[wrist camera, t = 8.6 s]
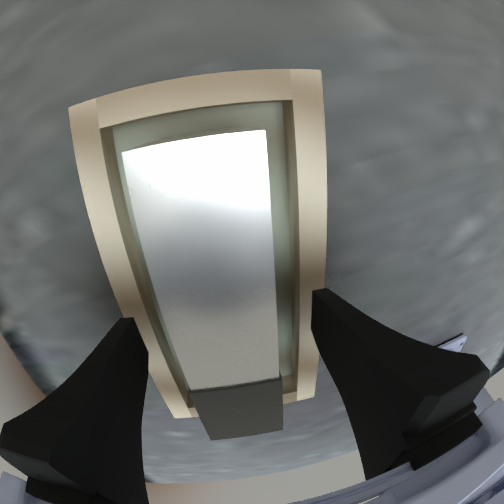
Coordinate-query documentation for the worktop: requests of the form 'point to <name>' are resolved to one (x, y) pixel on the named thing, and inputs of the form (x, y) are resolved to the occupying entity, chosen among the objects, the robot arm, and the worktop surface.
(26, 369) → the worktop surface
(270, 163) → the beige rectangular tray
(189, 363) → the grey rectangular block
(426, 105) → the worktop surface
